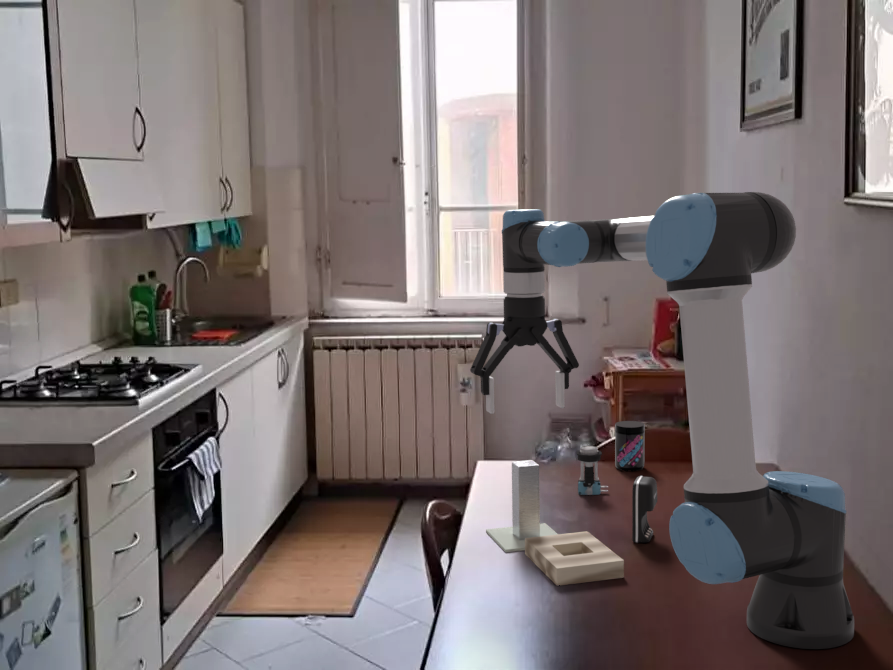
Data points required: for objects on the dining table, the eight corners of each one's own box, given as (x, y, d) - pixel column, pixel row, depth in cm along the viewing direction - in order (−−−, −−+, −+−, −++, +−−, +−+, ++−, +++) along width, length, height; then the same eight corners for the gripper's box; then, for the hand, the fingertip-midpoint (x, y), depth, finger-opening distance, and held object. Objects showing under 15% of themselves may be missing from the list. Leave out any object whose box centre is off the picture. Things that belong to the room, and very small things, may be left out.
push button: (607, 489, 232) (607, 444, 231) (609, 497, 227) (609, 450, 225) (576, 489, 233) (575, 444, 231) (577, 497, 227) (577, 451, 226)
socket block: (623, 577, 181) (623, 560, 181) (557, 585, 178) (556, 568, 178) (587, 547, 196) (587, 531, 196) (525, 554, 193) (524, 538, 193)
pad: (567, 545, 198) (567, 542, 198) (505, 552, 195) (505, 549, 195) (545, 525, 209) (545, 523, 209) (486, 532, 206) (486, 529, 206)
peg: (539, 538, 200) (539, 465, 198) (519, 540, 199) (518, 467, 197) (532, 531, 204) (531, 459, 202) (512, 533, 203) (511, 461, 201)
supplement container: (609, 469, 248) (609, 425, 247) (623, 462, 254) (623, 419, 252) (636, 473, 244) (636, 428, 243) (649, 466, 250) (649, 423, 248)
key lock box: (652, 545, 197) (653, 484, 195) (631, 543, 198) (631, 483, 196) (658, 533, 203) (658, 474, 202) (637, 531, 204) (638, 473, 203)
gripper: (580, 289, 202) (580, 400, 205) (452, 296, 196) (454, 410, 199) (596, 293, 195) (596, 408, 198) (463, 300, 189) (466, 418, 191)
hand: (525, 409), depth 198 cm, fingers open, 13 cm apart
